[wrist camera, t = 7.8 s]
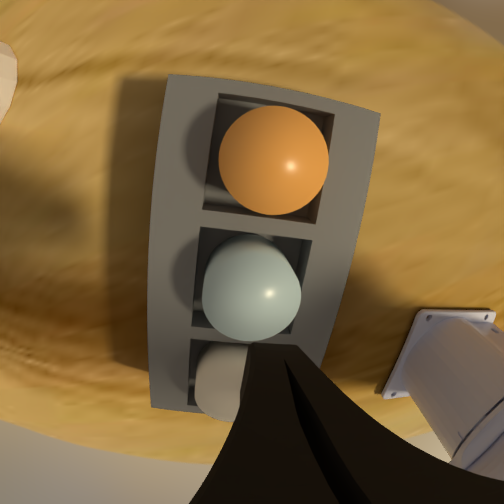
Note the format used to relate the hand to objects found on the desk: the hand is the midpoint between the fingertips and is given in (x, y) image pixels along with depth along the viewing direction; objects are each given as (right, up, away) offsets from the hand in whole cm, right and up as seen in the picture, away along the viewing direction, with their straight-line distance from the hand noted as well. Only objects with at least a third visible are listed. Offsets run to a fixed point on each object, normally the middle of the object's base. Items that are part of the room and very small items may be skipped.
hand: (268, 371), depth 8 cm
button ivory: (-1, -3, +8) cm, 9 cm away
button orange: (0, +7, +5) cm, 9 cm away
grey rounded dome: (-1, +2, +7) cm, 7 cm away
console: (-1, +3, +8) cm, 9 cm away
